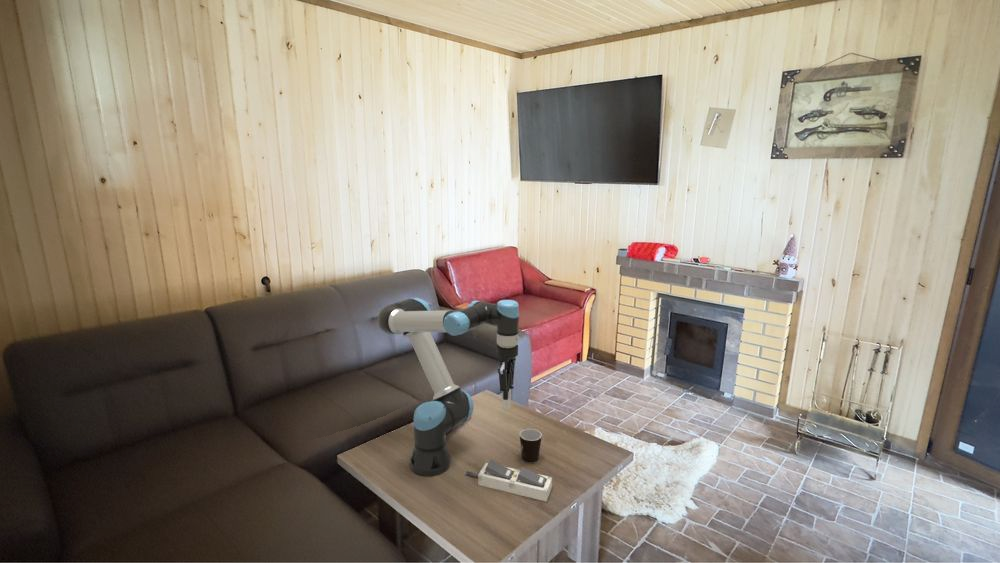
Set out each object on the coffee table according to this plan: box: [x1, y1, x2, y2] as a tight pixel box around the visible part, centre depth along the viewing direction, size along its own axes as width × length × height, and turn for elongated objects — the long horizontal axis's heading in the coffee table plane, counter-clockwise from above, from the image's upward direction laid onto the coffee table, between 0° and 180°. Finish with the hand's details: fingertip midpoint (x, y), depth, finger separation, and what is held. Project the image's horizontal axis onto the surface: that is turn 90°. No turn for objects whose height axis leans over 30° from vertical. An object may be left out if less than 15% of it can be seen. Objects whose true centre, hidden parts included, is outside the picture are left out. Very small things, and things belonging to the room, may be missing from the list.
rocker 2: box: [517, 466, 546, 488], centre depth 164 cm, size 9×5×2 cm, turn 70°
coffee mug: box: [519, 428, 543, 463], centre depth 184 cm, size 12×9×10 cm
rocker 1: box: [485, 459, 513, 480], centre depth 168 cm, size 9×5×2 cm, turn 70°
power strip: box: [465, 461, 553, 503], centre depth 167 cm, size 31×8×5 cm, turn 70°
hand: (506, 406), depth 169 cm, fingers closed
